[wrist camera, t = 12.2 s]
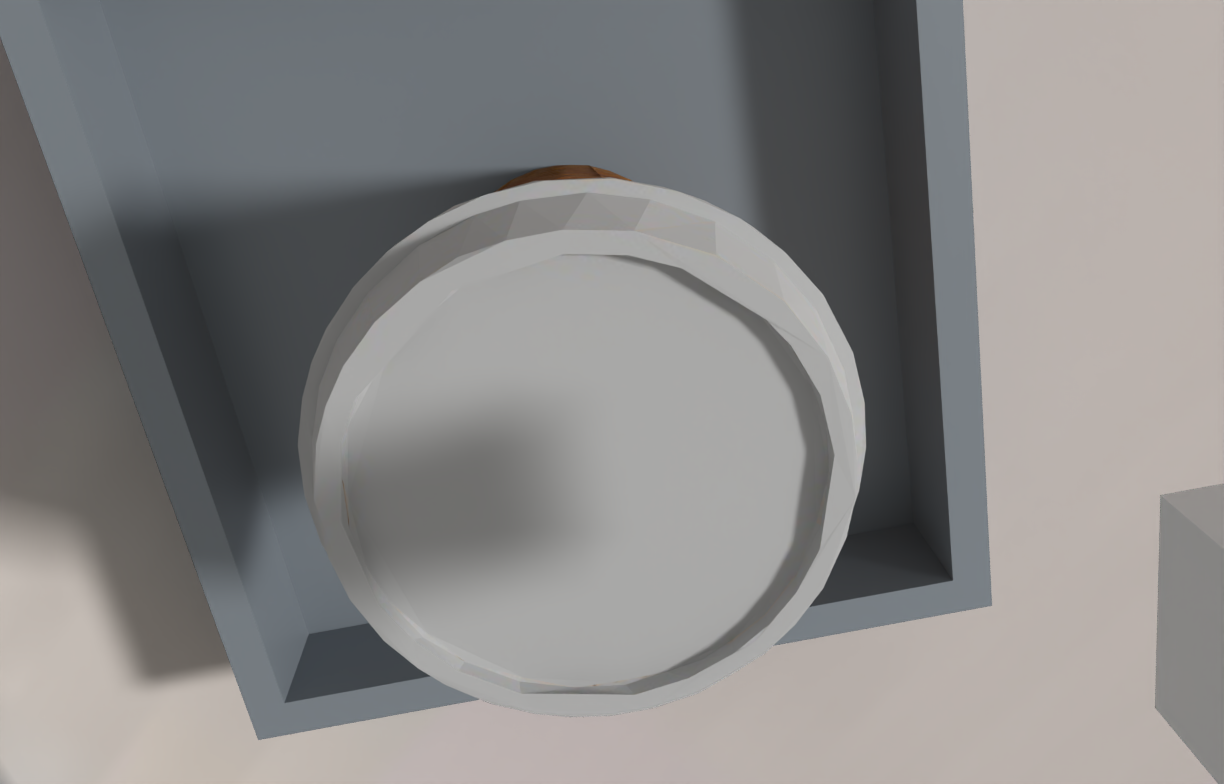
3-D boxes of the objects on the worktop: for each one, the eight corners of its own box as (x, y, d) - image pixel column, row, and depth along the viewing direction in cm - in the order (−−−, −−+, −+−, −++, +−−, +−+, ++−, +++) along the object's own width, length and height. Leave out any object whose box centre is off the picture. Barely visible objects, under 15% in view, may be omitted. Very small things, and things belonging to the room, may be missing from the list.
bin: (51, -51, 25) (-34, -56, 21) (890, -208, 25) (951, -240, 21) (290, 652, 32) (258, 740, 29) (940, 533, 32) (991, 605, 29)
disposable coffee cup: (696, 45, 26) (810, 104, 15) (789, 391, 29) (938, 649, 18) (328, 167, 26) (172, 312, 15) (462, 492, 30) (415, 802, 19)
